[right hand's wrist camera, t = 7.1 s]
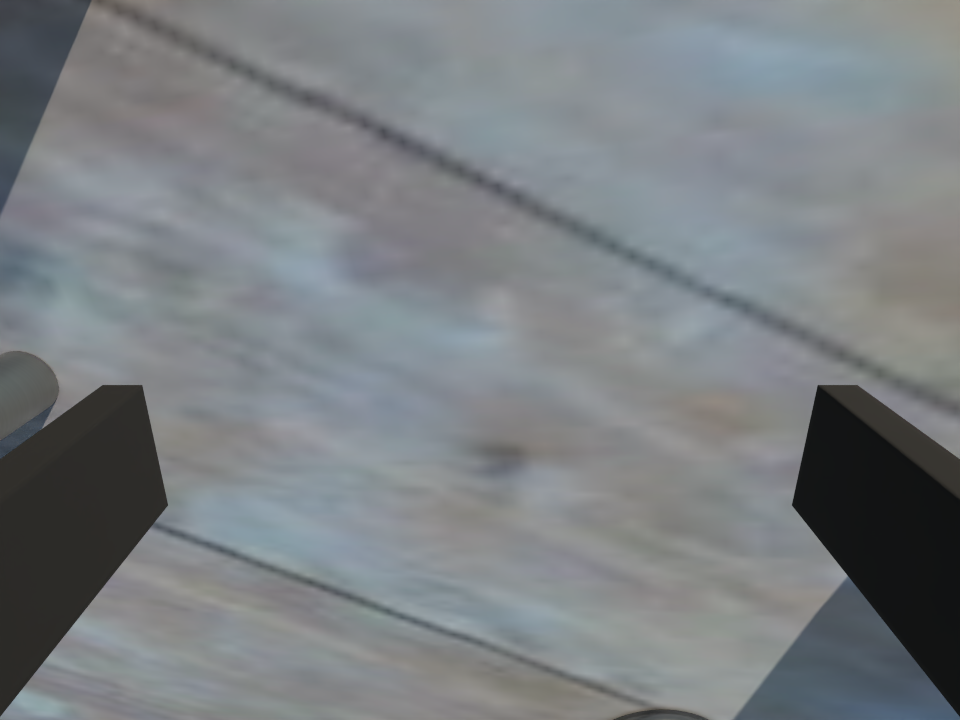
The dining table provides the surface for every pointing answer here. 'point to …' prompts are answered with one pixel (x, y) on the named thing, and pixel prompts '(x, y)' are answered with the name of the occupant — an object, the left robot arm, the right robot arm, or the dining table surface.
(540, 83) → the dining table surface
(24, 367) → the gray cylinder
